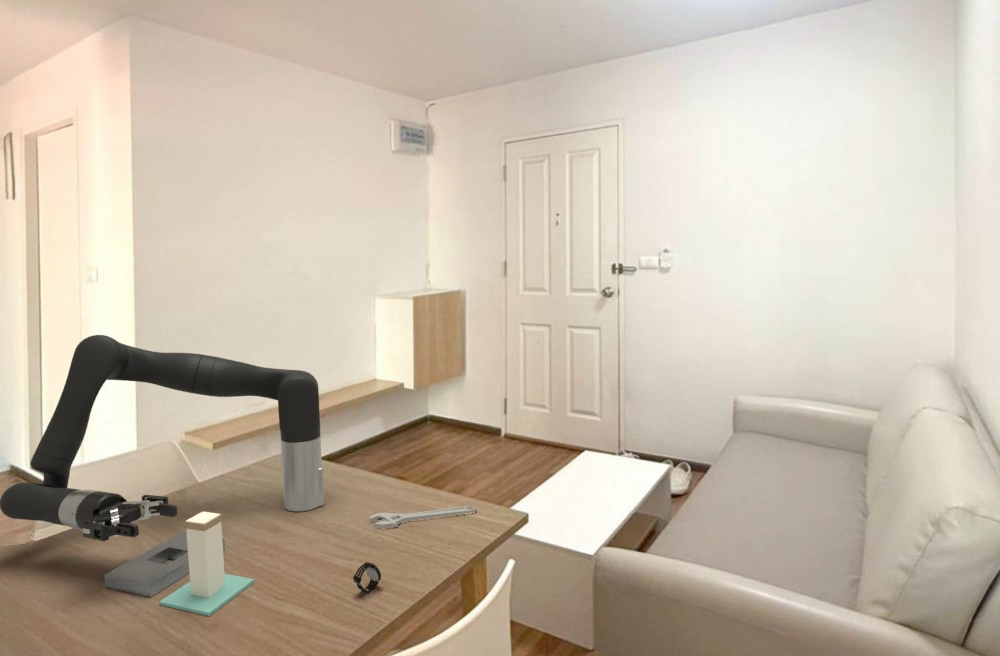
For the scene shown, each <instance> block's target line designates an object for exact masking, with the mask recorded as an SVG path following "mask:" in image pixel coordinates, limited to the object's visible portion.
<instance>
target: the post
mask: <svg viewBox="0 0 1000 656" xmlns="http://www.w3.org/2000/svg"><path fill="white" fill-rule="evenodd" d="M184 524H185V530H186V531H185V532H187V546H188V559H189V573H188V574H189V582H190V587H191V594H193V595H198V596H203V597H208V598H209V597H211V596H212V595H214V594H215V593H216V592H218V591H219V590H220V589H222V588H223V587H224V586H225V574H226V573H225V563H224V562H225V561H224V559H225V558H224V551H223V542H222V538H223V531H222V530H223V528H222V526H223V525H222V514H221V513H216V512H209V511H200V512H199V513H197V514H195V515H194V516H192V517H190V518H187V520H185V523H184Z"/></svg>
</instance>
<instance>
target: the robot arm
mask: <svg viewBox="0 0 1000 656" xmlns="http://www.w3.org/2000/svg"><path fill="white" fill-rule="evenodd" d="M106 381H123V382H124V381H128V382H136V383H137V382H138V383H139V382H140V383H147V384H152V385H156V386H161V387H164V388H167V389H170V390H176V391H178V392H184V393H189V394H195V395H201V396H206V397H207V396H209V397H216V398H222V397H223V398H230V397H231V398H232V397H233V398H236V397H259V398H266V399H271V400H275V401H277V407H278V408H277V410H278V422H279V424H278V425H279V433H280V444H281V445H280V447H281V448H280V449H281V464H282V468H281V469H282V470H281V471H282V485H283V487H282V488H283V504H284V509H286V510H287V511H290V512H307V511H310V510H311V511H312V510H314V509H317V508H319V507H323V506H325V491H324V469H323V464H322V443H321V441H322V440H321V419H320V418H321V417H320V416H321V415H320V395H319V394H320V393H319V392H320V391H319V383H318V380H317V378H315V376H314V375H313V374H312V373H310V372H308V371H305V370H300V369H299V370H298V369H286V368H285V369H283V368H273V367H272V368H270V367H264V366H258V365H255V364H249V363H248V362H247V363H246V362H244V361H243V362H242V361H238V360H234V359H233V360H232V359H227V358H224V357H219V356H215V355H214V356H213V355H208V354H202V353H201V354H200V353H192V352H191V353H190V352H161V351H160V352H159V351H153V350H148V349H145V348H144V349H142V348H139V347H136V346H132V345H127V344H124V343H122V342H119V341H118V340H116V339H115V338H113V337H111V336H108V335H105V334H94V335H90V336H88V337H85V338H84V339H83V340H81V341H79V343H78V344H77V345H76V346H75V350H74V353H73V355H72V359H71V362H70V366H69V369H68V373H67V378H66V380H65V383H64V386H63V389H62V392H61V395H60V397H59V399H58V401H57V402H58V403H57V405H56V407H55V410H54V412H53V414H52V416H51V418H50V421H49V422H48V424H47V427H46V429H45V431H44V433H43V435H42V437H41V439H40V441H39V443H38V445H37V447H36V449H35V451H34V453H33V455H32V458H31V459H30V463H29V465H30V467H31V468H32V469H33V470H35V471H37V472H39V473H42V474H43V481H42V483H35V482H18V483H15V484H13V485H11V486H9V487H8V488H7V489H6V490H5V491H4V492H3V493H2V495H1V496H0V510H1V512H2V513H3V515H4V516H6V517H8V518H10V519H14V520H15V519H16V520H23V521H24V520H26V521H36V522H37V521H38V522H41V521H42V522H45V523H50V524H54V525H59V526H64V527H65V526H66V527H69V528H72V529H75V530H80V531H82V537H83V538H87V539H92V540H97V541H100V542H106V541H108V540H109V539H110V538H111V537H113V538H116V537H120V536H121V537H127V538H128V537H129V538H136V537H137V536H139V535H140V531H139V525H138V524H137V523H134V522H135V521H136V522H137V521H143V520H149V519H150V517H154V516H164V517H169V518H175V517H176V516H178V509H177V508H178V506H177V505H176V504H169V496H164V495H163V496H162V495H154V494H153V495H152V494H143V495H141V500H138V501H134V500H133V501H132V500H129V501H128V500H126V498H125V497H124V496H123V495H121V494H119V493H114V492H108V491H101V490H93V489H79V488H78V489H77V488H71V487H68V486H69V481H70V480H69V479H70V473H71V468H72V466H73V463H74V461H75V459H76V457H77V454H78V452H79V450H80V447H81V446H82V443H83V441H84V438H85V435H86V432H87V429H88V425H89V421H90V418H91V413H92V409H93V407H94V404H95V401H96V399H97V397H98V394H99V392H100V390H101V389H102V388H103V386H104V384H105V383H106ZM142 509H144V514H142Z"/></svg>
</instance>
